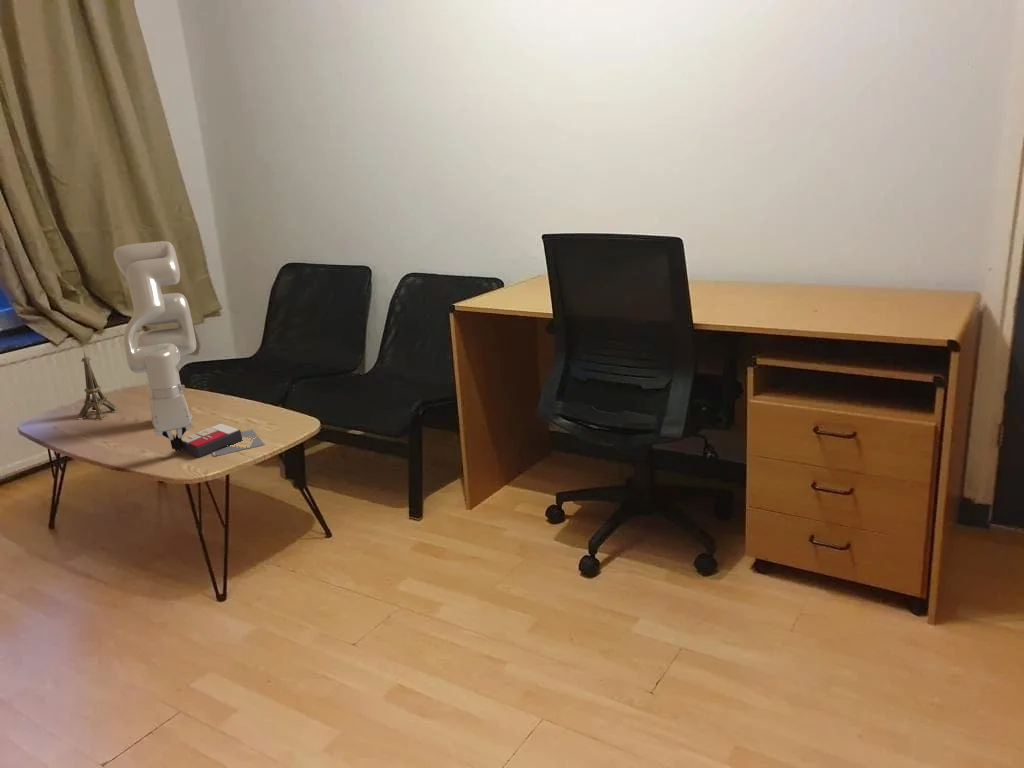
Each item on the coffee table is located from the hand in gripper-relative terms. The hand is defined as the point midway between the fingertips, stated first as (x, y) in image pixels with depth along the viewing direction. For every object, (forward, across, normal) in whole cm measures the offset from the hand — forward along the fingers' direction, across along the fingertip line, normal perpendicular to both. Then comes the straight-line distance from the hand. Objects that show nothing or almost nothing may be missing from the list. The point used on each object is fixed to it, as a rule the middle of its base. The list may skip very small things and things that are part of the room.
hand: (178, 450), depth 239 cm
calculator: (+2, -10, -1) cm, 10 cm away
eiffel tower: (+2, +19, -60) cm, 63 cm away
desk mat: (+2, -16, 0) cm, 16 cm away
